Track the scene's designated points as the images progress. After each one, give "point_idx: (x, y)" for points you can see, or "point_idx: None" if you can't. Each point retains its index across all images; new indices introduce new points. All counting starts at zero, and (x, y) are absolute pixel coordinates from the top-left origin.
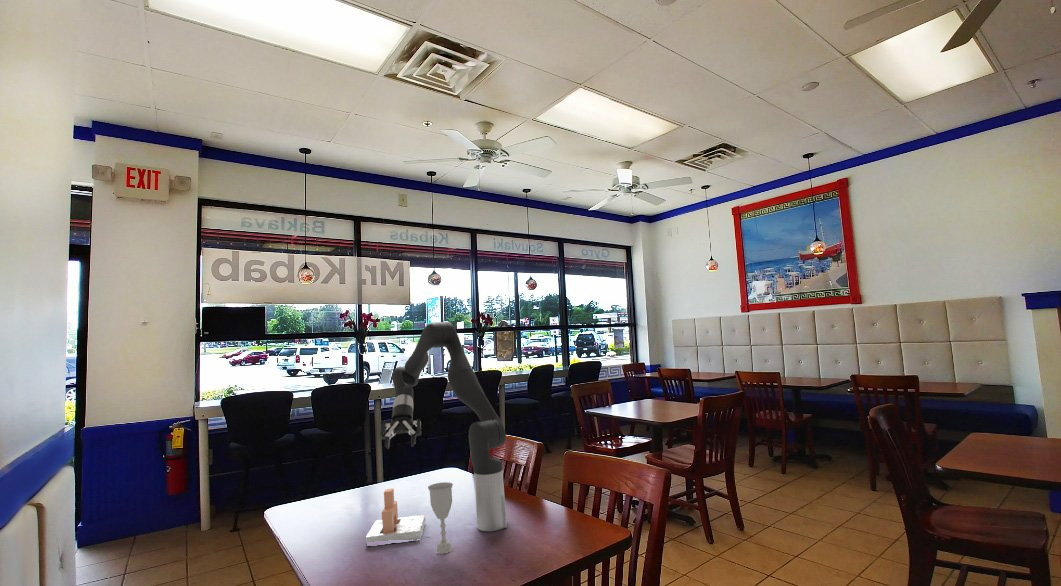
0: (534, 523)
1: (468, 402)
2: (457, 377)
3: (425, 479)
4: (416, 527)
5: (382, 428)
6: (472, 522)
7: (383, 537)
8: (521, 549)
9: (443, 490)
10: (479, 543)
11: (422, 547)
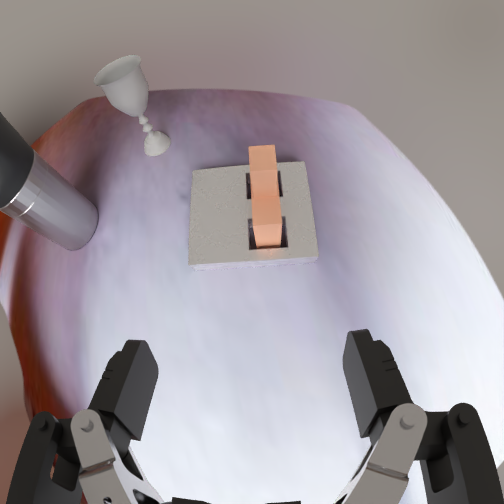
0: None
1: None
2: None
3: None
4: (200, 187)
5: (489, 482)
6: (102, 254)
7: None
8: (73, 146)
9: (117, 63)
10: (108, 163)
11: (191, 156)
